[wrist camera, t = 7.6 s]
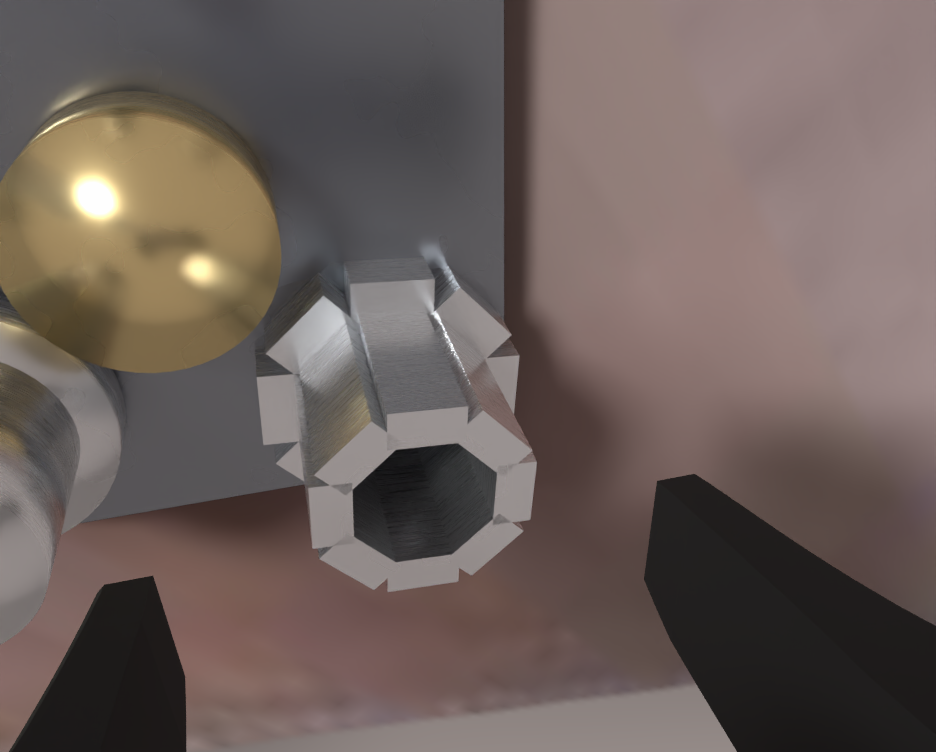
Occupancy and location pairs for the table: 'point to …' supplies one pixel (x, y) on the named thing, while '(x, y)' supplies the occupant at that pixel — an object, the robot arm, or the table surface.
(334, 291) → the gear
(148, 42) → the carrier
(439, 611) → the table surface
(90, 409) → the silver rounded piece
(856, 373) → the table surface
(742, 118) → the table surface
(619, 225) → the table surface
